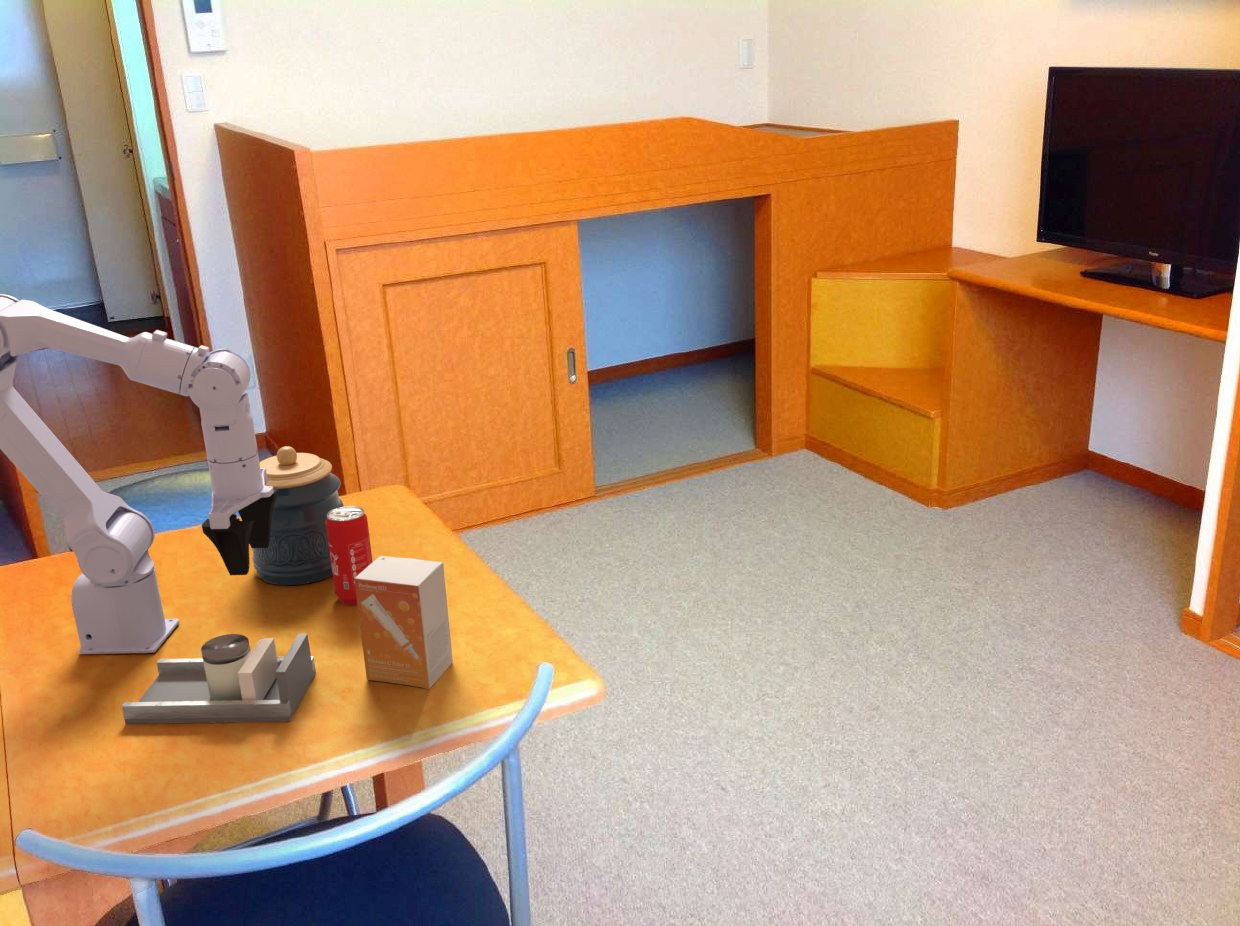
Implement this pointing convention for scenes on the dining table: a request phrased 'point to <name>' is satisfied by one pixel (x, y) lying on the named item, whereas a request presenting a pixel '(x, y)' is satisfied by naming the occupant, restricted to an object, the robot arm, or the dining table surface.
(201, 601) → the dining table surface
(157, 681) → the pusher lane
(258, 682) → the block
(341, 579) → the beverage can
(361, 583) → the small box
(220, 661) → the cream jar with lid
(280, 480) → the canister
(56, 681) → the dining table surface
